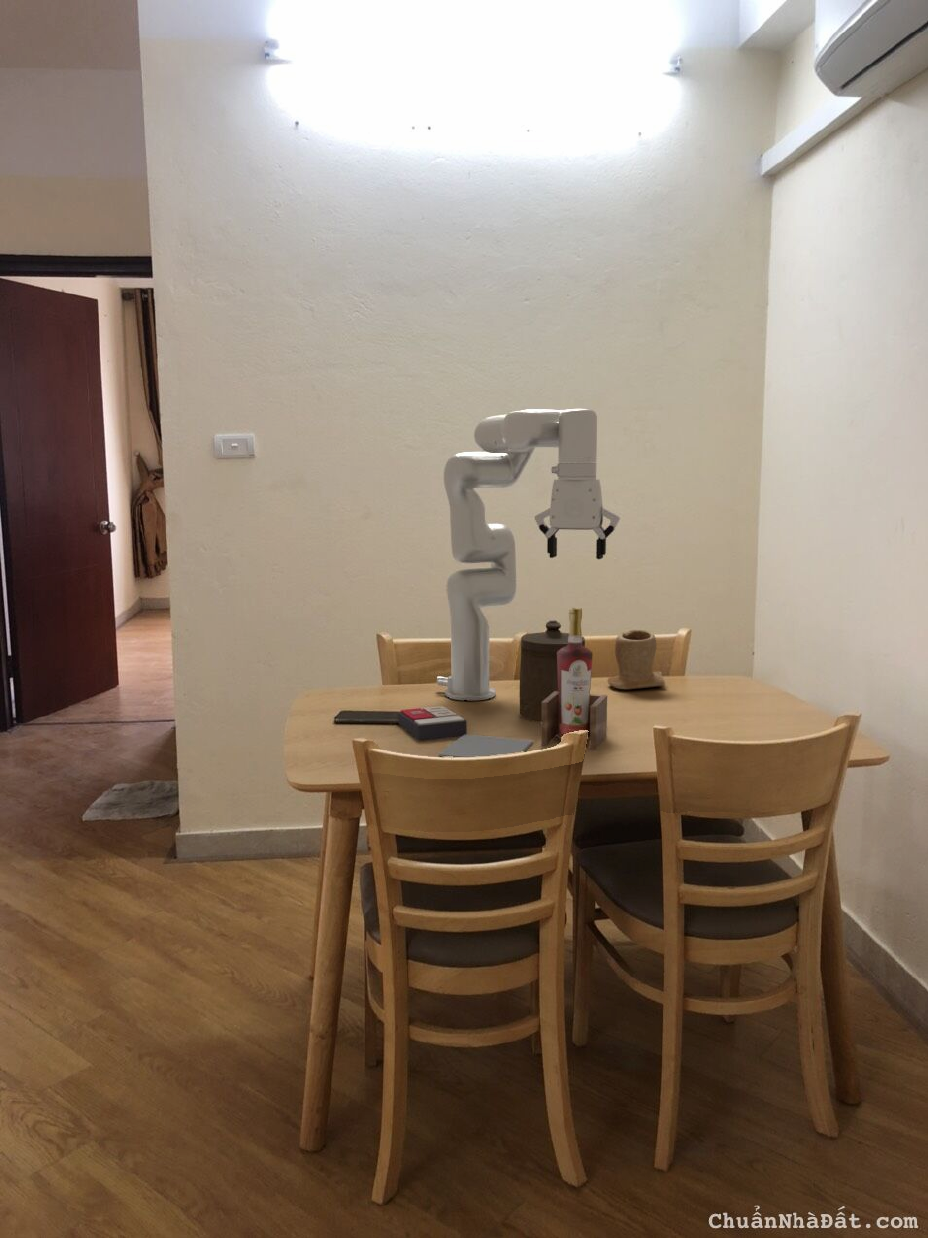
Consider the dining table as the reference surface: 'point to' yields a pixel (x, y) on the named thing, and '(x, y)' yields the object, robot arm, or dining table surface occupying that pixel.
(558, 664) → the liquor
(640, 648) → the stone cup
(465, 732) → the navy red white box
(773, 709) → the dining table surface
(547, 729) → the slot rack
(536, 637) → the wooden container
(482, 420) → the robot arm
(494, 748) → the slate mat
